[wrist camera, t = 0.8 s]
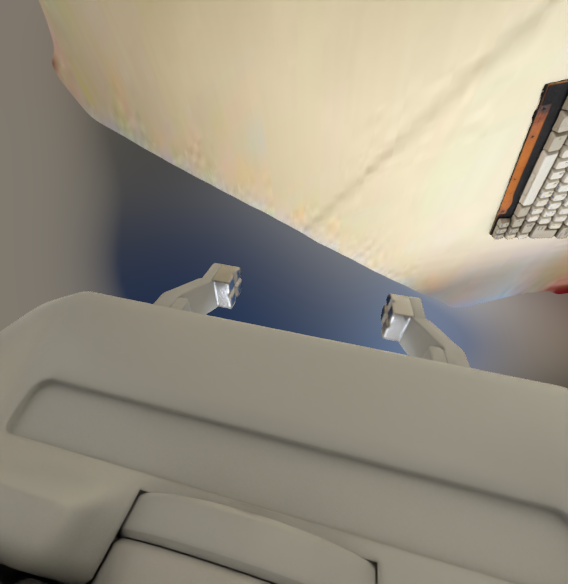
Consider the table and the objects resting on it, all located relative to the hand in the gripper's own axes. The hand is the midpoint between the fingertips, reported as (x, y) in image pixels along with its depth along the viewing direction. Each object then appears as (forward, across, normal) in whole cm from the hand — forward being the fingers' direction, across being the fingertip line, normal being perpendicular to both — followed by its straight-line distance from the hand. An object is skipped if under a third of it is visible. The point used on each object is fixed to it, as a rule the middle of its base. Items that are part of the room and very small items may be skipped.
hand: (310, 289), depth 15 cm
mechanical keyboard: (+56, -45, +4) cm, 72 cm away
